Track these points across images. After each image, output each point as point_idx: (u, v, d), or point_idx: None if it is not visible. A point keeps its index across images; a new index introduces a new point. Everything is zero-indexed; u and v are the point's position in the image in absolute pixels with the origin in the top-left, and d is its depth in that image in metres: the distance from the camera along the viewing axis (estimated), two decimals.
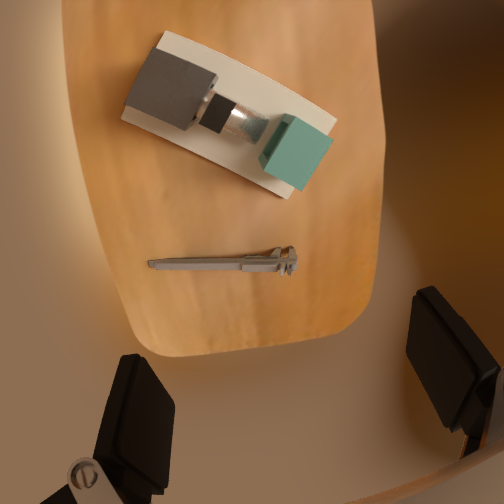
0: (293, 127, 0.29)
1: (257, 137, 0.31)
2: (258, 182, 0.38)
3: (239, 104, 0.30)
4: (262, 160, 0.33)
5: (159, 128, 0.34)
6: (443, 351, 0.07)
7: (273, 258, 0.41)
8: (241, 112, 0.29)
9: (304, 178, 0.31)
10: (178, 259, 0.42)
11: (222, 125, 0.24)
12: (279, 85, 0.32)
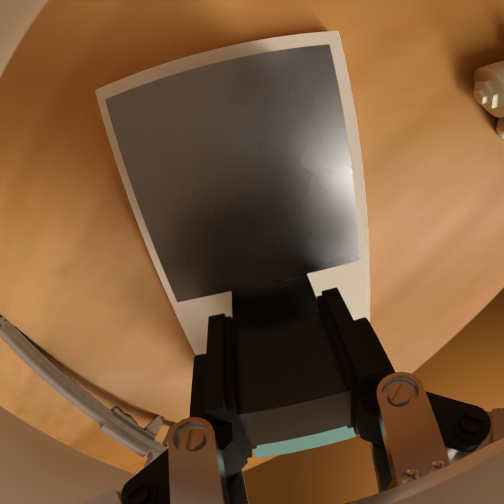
0: None
1: None
2: None
3: None
4: None
5: None
6: None
7: (147, 438, 0.22)
8: None
9: (277, 452, 0.16)
10: (27, 343, 0.20)
11: (277, 440, 0.08)
12: (367, 289, 0.19)
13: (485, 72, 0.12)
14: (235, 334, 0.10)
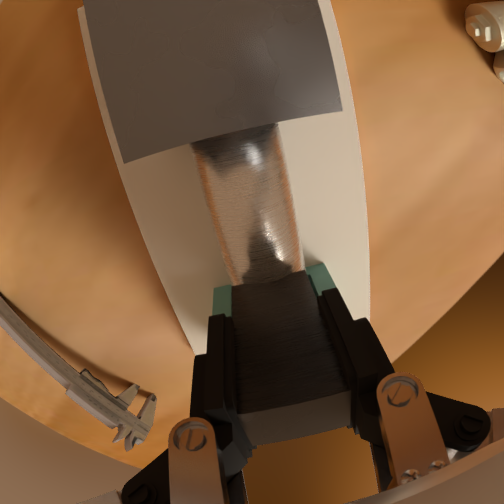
0: None
1: None
2: (180, 316, 0.19)
3: None
4: None
5: None
6: None
7: (118, 407, 0.20)
8: None
9: None
10: None
11: (277, 440, 0.08)
12: (363, 217, 0.16)
13: (475, 8, 0.10)
14: (235, 334, 0.10)
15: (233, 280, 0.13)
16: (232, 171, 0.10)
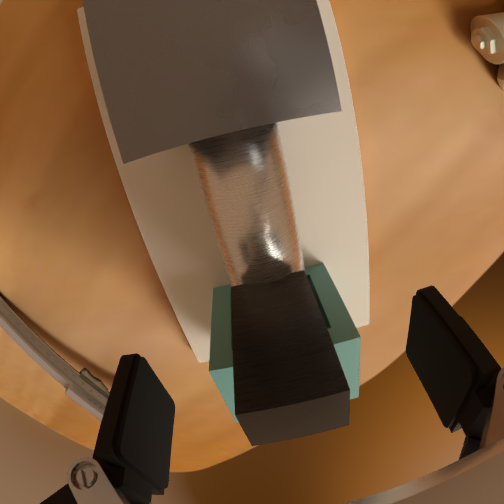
0: (335, 349, 0.12)
1: None
2: (180, 316, 0.19)
3: None
4: (219, 320, 0.15)
5: None
6: (443, 351, 0.07)
7: None
8: None
9: None
10: None
11: (276, 440, 0.08)
12: (363, 217, 0.16)
13: (480, 20, 0.10)
14: (234, 334, 0.10)
15: (232, 280, 0.13)
16: (231, 172, 0.10)
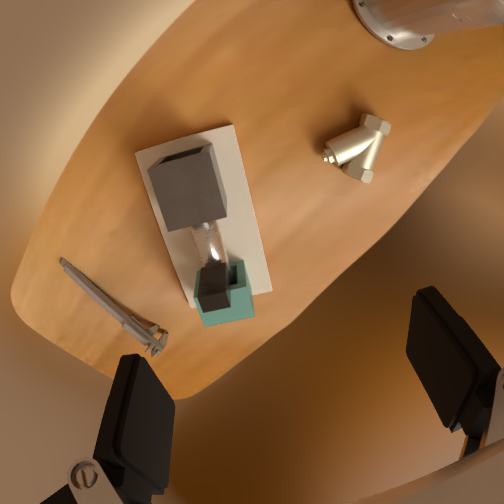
0: (237, 291, 0.36)
1: None
2: (182, 284, 0.42)
3: (231, 276, 0.38)
4: (198, 282, 0.39)
5: (153, 190, 0.36)
6: (443, 351, 0.07)
7: (149, 334, 0.44)
8: None
9: (214, 322, 0.38)
10: (83, 277, 0.41)
11: (209, 310, 0.32)
12: (259, 240, 0.40)
13: (327, 144, 0.35)
14: (200, 280, 0.34)
15: (202, 266, 0.37)
16: (199, 232, 0.34)
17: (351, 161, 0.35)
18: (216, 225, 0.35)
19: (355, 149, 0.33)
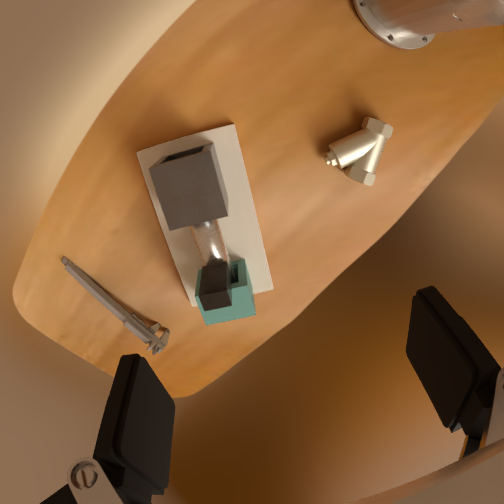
0: (238, 289, 0.36)
1: None
2: (184, 282, 0.43)
3: (232, 275, 0.38)
4: (199, 281, 0.39)
5: (154, 189, 0.36)
6: (443, 351, 0.07)
7: (150, 332, 0.44)
8: None
9: (215, 320, 0.38)
10: (85, 275, 0.42)
11: (211, 309, 0.32)
12: (260, 239, 0.40)
13: (330, 147, 0.35)
14: (201, 279, 0.34)
15: (203, 264, 0.37)
16: (200, 231, 0.34)
17: (354, 164, 0.35)
18: (217, 224, 0.35)
19: (357, 152, 0.34)
